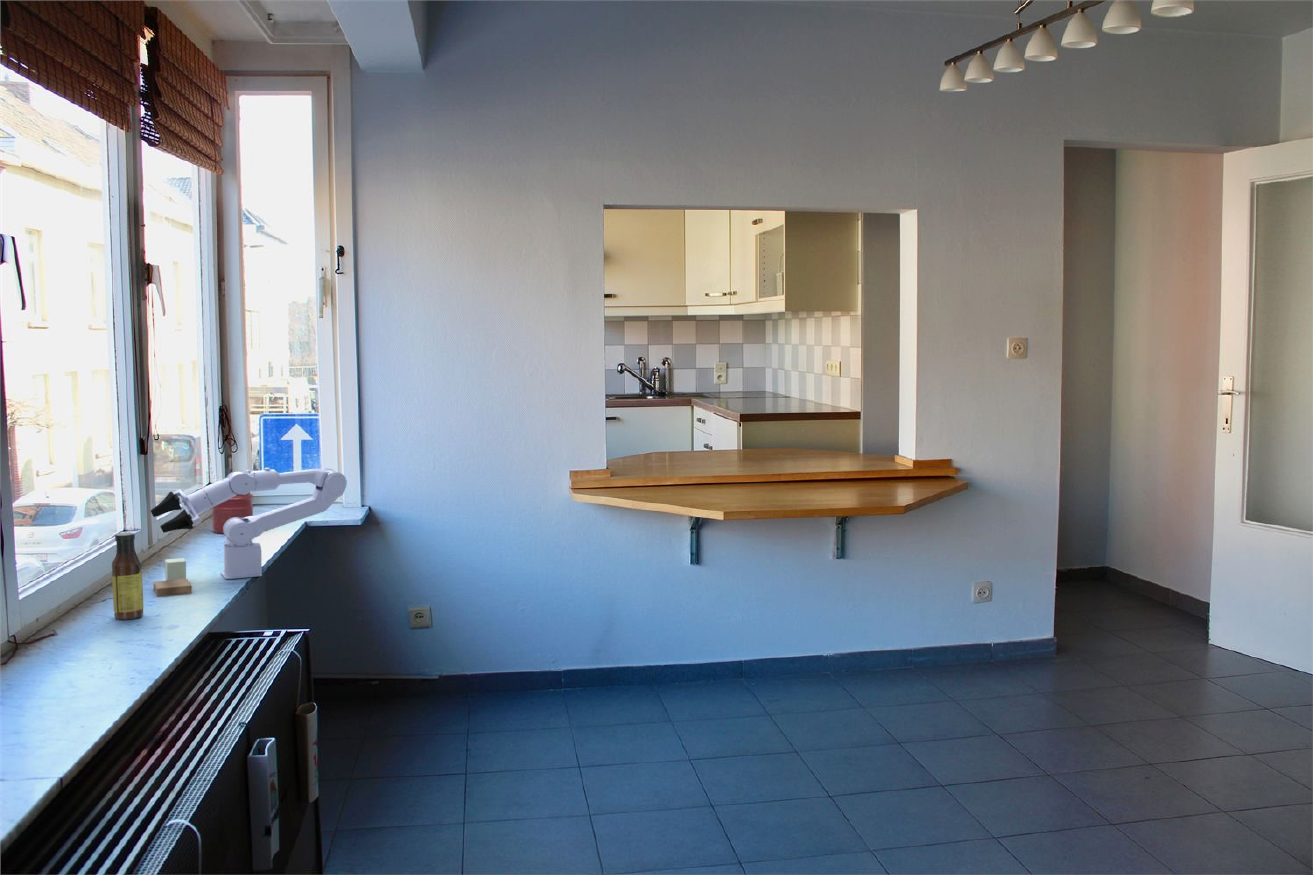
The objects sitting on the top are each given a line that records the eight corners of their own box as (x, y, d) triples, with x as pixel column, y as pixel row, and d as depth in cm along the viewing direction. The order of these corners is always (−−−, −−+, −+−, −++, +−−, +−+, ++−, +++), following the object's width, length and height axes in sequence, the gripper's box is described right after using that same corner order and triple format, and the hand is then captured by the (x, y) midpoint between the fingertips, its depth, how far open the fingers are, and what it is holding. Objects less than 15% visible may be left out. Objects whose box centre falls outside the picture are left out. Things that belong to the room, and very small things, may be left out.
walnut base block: (187, 587, 266) (187, 578, 266) (191, 594, 259) (191, 585, 259) (153, 591, 262) (153, 581, 261) (157, 598, 255) (157, 588, 255)
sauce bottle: (149, 615, 238) (148, 532, 236) (128, 621, 232) (126, 537, 230) (128, 611, 240) (127, 530, 238) (106, 618, 234) (104, 534, 233)
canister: (243, 535, 334) (243, 482, 333) (205, 533, 334) (204, 481, 333) (259, 527, 347) (259, 477, 346) (222, 526, 347) (221, 476, 346)
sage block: (183, 579, 273) (183, 557, 272) (186, 583, 269) (185, 561, 269) (165, 581, 271) (165, 559, 270) (167, 585, 267) (167, 562, 266)
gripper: (192, 473, 274) (142, 496, 268) (212, 501, 266) (160, 526, 260) (200, 491, 279) (151, 514, 273) (220, 520, 271) (170, 544, 264)
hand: (156, 521), depth 266 cm, fingers open, 7 cm apart
